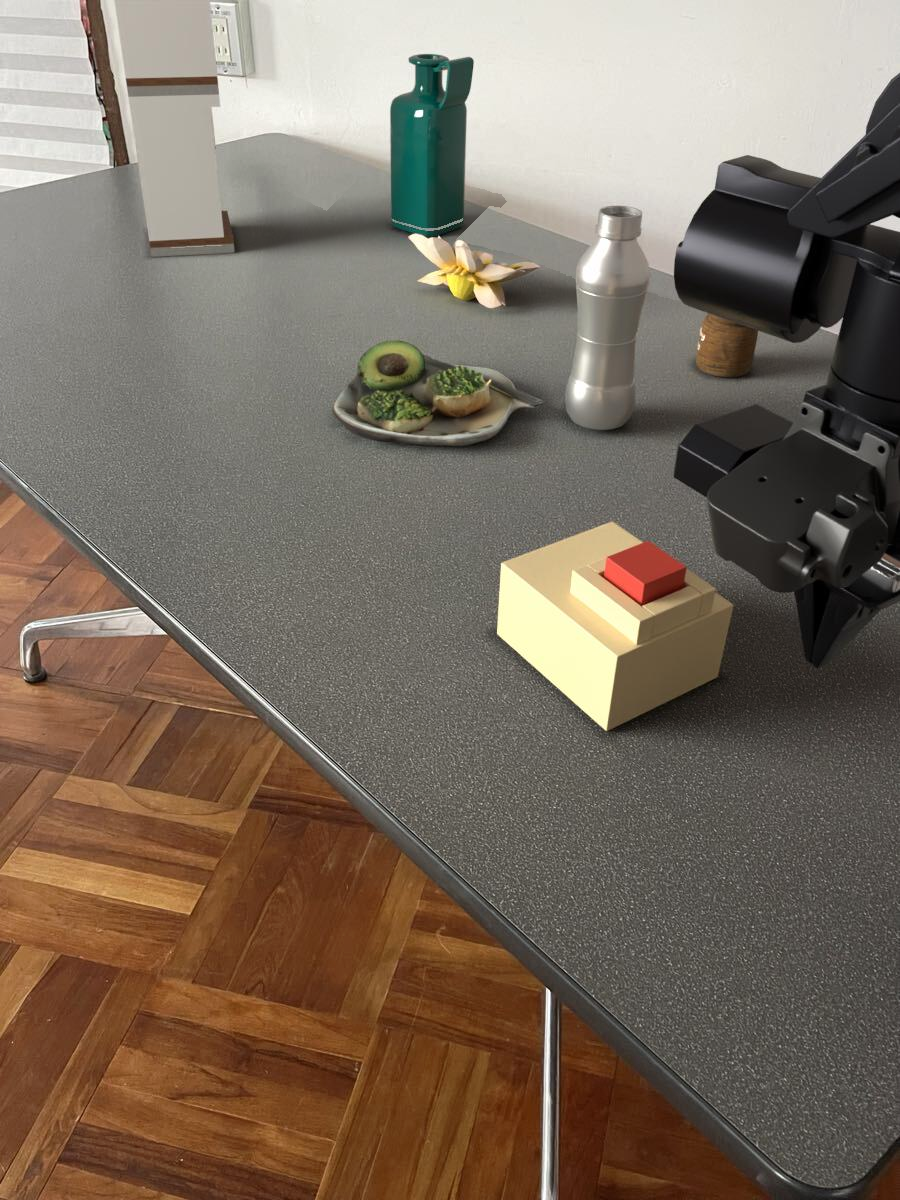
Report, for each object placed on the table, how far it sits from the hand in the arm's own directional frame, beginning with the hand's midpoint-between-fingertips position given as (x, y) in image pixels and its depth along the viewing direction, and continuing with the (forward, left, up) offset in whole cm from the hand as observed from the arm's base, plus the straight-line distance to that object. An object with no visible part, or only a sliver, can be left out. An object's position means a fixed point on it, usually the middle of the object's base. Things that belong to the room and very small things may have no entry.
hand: (817, 662), depth 54 cm
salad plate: (+31, -49, -13) cm, 59 cm away
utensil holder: (+2, -66, -13) cm, 67 cm away
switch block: (+10, -14, -13) cm, 22 cm away
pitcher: (+42, -105, -13) cm, 114 cm away
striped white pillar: (+72, -91, -13) cm, 117 cm away
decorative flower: (+31, -80, -13) cm, 87 cm away
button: (+9, -13, -5) cm, 16 cm away
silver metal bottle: (+14, -50, -13) cm, 54 cm away
